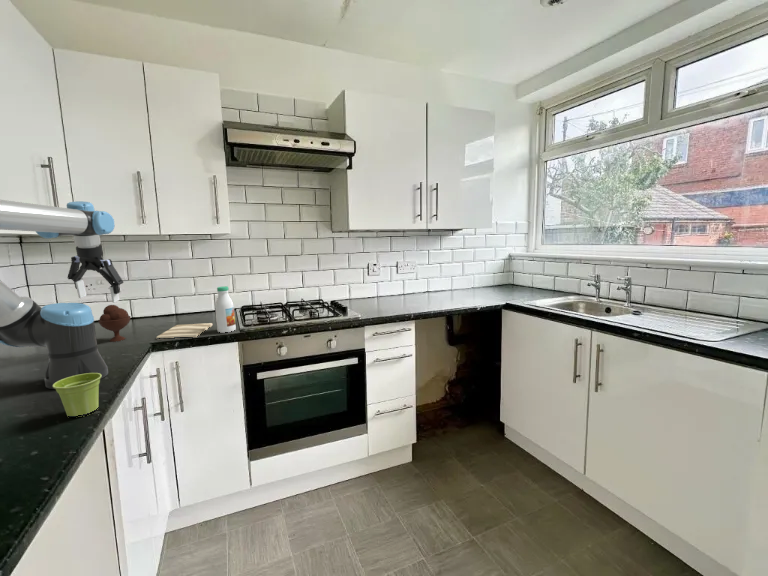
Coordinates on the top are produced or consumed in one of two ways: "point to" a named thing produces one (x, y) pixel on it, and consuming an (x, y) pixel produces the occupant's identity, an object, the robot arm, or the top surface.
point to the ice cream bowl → (114, 320)
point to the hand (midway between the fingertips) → (99, 299)
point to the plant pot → (79, 393)
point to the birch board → (185, 330)
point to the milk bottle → (224, 311)
